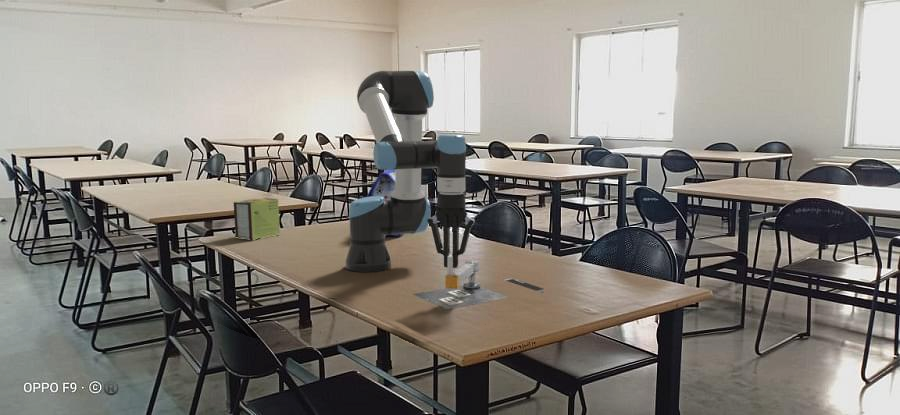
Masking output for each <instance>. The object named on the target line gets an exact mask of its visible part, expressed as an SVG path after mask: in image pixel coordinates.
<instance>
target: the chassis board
mask: <svg viewBox="0 0 900 415" xmlns="http://www.w3.org/2000/svg"><path fill="white" fill-rule="evenodd" d="M455 290H461V291H463V292H466V293H469V294H471V296H466V297H460V298H458V297H456V296H454V295H451V294H449V293H447V292H450V291H455ZM412 295H413V296H416V297H418V298H421V299H423V300H425V301H427V302H430V303H432V304H433V305H437V306H439V307H441V308H444V309H446V310H452V309H457V308H463V307H467V306H471V305H479V304H483V303H487V302H488V303H489V302H493V301H498V300H503V299H509V298H510V297H509V296H507V295H505V294H501V293H498V292H495V291H492V290H490V289H488V288H486V287H485V288H484V287H482V284H481V283H479V282H476V272H474V273H473V274H472V275H471V276H469V277H468V281H467V282H463V285H459V288H458V289H449V288H446V287H445V288H440V289H434V290H427V291H422V292H417V293H413V294H412ZM448 297H452V298H455V299H457V300H460V301H462V302H463V303H461V304H456V305H448V304H446V303H444V302H441V301H439V299H443V298H448Z"/></svg>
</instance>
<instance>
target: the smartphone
mask: <svg viewBox="0 0 900 415" xmlns="http://www.w3.org/2000/svg"><path fill="white" fill-rule="evenodd" d="M504 281H506V282H508V283H512V284H515V285H518V286H521V287H523V288H526V289H529V290H533V291H535V292H537V293H538V292H539V293H544V288H543V287H539V286H538V285H537V286H536V285H534V284H530V283H528V282H524V281H521V280H518V279H516V278H507V279H504Z"/></svg>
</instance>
